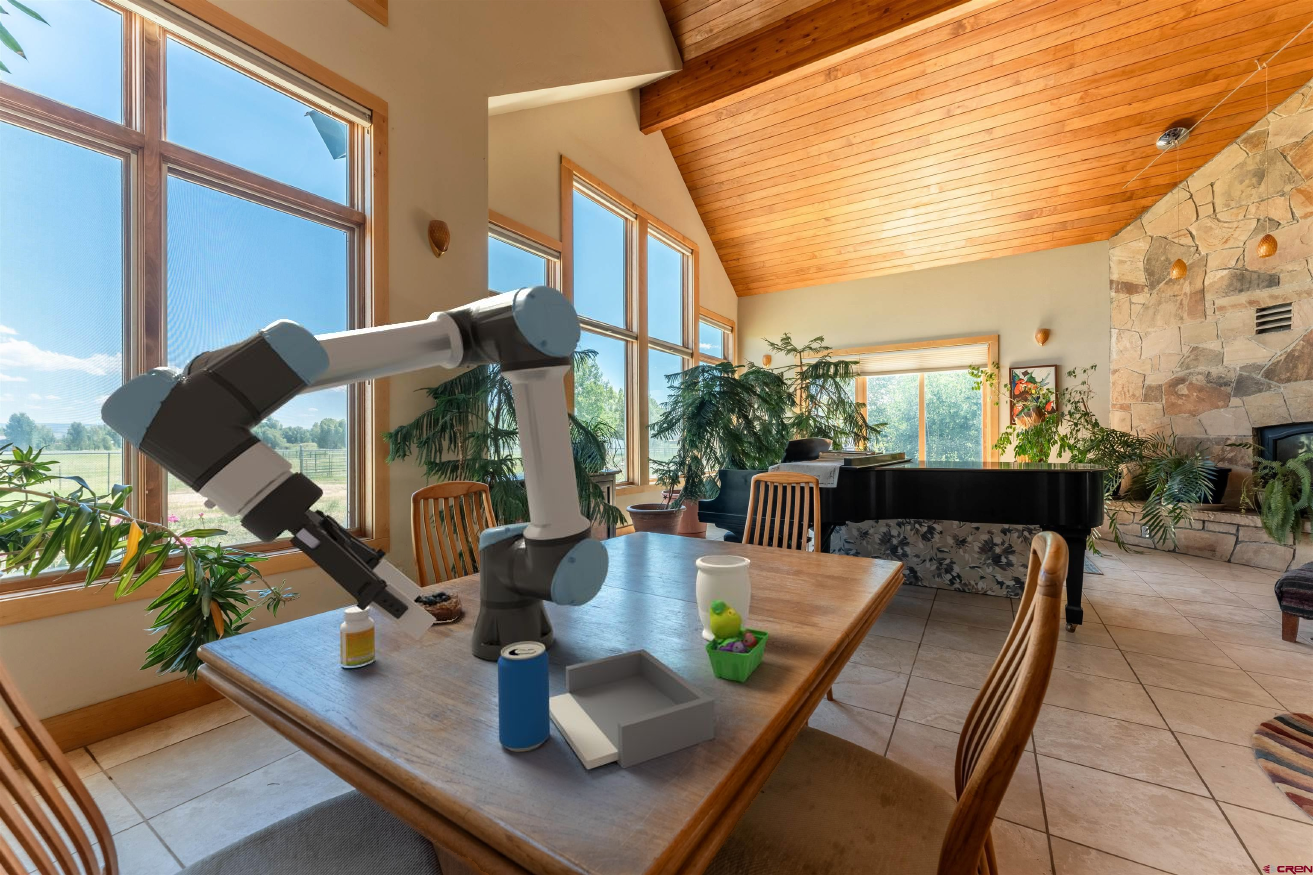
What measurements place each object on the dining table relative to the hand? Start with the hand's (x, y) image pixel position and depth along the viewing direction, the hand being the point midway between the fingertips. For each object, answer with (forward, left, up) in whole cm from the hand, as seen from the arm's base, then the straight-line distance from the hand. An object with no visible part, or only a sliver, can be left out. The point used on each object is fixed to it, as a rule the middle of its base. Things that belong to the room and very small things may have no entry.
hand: (420, 612), depth 66 cm
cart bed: (+2, +25, -19) cm, 32 cm away
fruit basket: (-4, +49, -19) cm, 53 cm away
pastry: (-61, +8, -19) cm, 64 cm away
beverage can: (0, +12, -19) cm, 23 cm away
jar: (-17, +56, -19) cm, 62 cm away
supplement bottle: (-40, -7, -19) cm, 45 cm away
